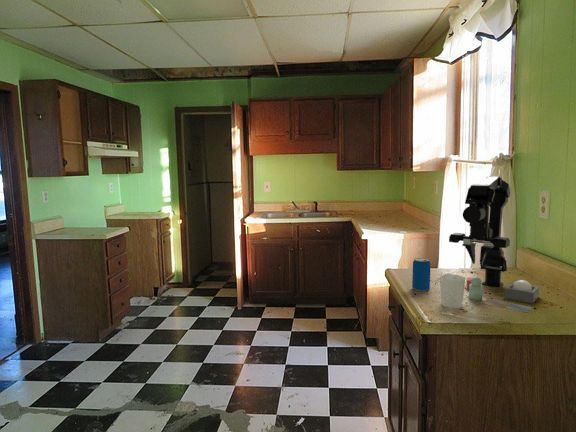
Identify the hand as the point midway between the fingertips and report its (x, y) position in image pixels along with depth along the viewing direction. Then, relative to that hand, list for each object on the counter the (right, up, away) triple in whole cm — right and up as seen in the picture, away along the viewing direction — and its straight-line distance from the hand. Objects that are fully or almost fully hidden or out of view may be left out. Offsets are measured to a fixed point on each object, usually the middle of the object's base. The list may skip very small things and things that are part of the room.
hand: (477, 264), depth 146 cm
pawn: (0, -13, +2) cm, 13 cm away
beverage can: (-15, -12, +14) cm, 24 cm away
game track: (+5, -14, -3) cm, 15 cm away
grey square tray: (+17, -13, +3) cm, 22 cm away
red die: (+4, -11, +14) cm, 19 cm away
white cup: (-11, -14, -4) cm, 18 cm away
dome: (+17, -12, +3) cm, 21 cm away
